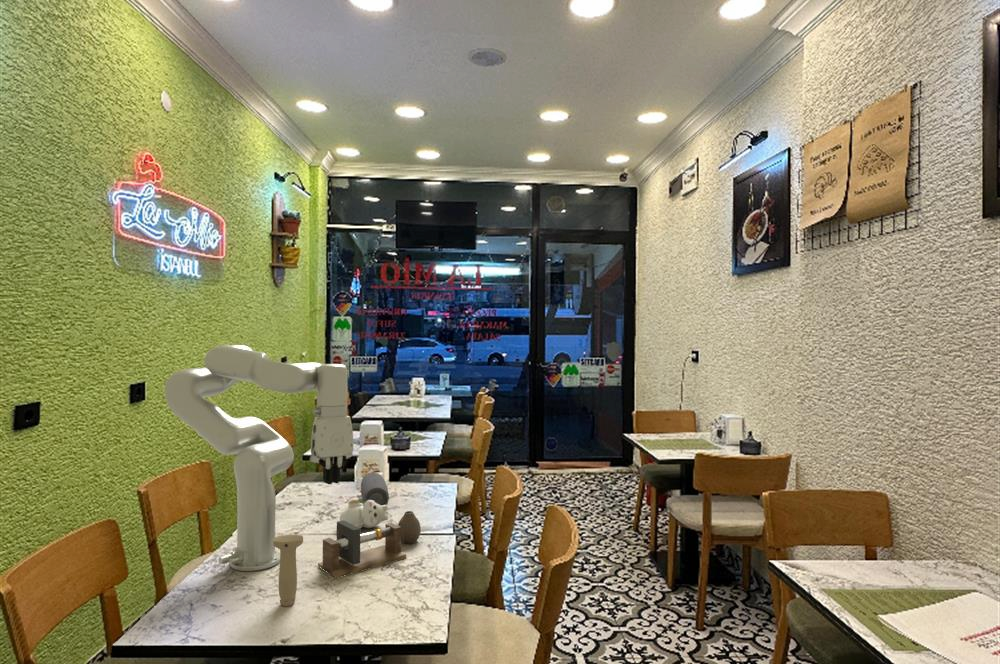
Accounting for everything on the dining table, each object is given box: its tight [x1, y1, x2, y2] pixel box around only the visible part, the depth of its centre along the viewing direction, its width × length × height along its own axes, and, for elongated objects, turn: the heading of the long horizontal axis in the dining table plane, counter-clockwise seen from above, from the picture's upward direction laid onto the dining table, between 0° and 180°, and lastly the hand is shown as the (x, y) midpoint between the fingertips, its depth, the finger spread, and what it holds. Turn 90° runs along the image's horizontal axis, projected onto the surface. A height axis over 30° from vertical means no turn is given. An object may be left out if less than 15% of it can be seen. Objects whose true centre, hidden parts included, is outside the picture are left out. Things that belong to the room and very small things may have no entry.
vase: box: [397, 510, 421, 545], centre depth 180 cm, size 7×7×9 cm
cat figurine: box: [339, 498, 389, 529], centre depth 192 cm, size 10×8×15 cm
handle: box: [273, 534, 304, 608], centre depth 138 cm, size 5×6×15 cm
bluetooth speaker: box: [360, 471, 390, 506], centre depth 216 cm, size 23×9×10 cm, turn 15°
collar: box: [336, 520, 361, 565], centre depth 160 cm, size 2×9×9 cm, turn 43°
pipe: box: [334, 527, 393, 549], centre depth 163 cm, size 18×3×3 cm, turn 133°
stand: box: [317, 522, 407, 579], centre depth 163 cm, size 21×10×8 cm, turn 133°
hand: (331, 482), depth 157 cm, fingers closed
